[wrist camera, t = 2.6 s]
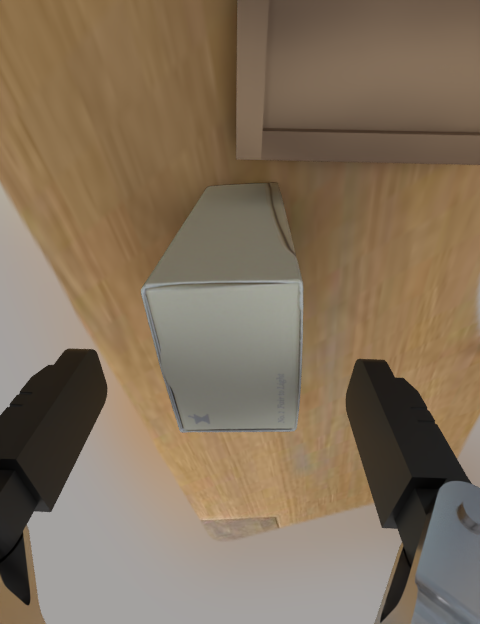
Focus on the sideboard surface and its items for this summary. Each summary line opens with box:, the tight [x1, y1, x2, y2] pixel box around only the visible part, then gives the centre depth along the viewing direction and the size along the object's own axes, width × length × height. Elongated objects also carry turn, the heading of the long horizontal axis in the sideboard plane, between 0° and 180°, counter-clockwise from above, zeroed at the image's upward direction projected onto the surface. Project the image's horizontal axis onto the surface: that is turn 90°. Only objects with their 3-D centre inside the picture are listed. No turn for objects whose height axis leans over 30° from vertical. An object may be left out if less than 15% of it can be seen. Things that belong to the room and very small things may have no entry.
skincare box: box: [141, 183, 303, 432], centre depth 15 cm, size 6×4×12 cm
